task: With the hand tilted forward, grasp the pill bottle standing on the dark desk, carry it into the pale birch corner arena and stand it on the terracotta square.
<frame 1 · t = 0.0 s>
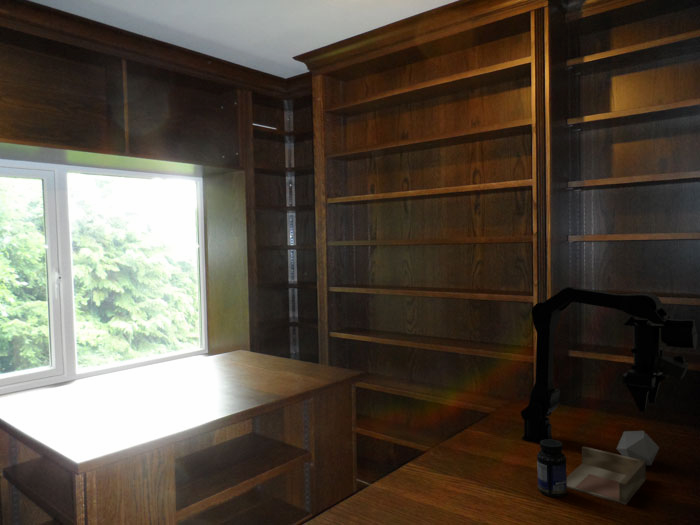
hand: (647, 407, 127), 15 cm above the table, tool pointing down, fingers open, 9 cm apart
arena: (602, 482, 119), on the table
pill bottle: (552, 492, 115), on the table
grey polyhedron: (637, 464, 129), on the table
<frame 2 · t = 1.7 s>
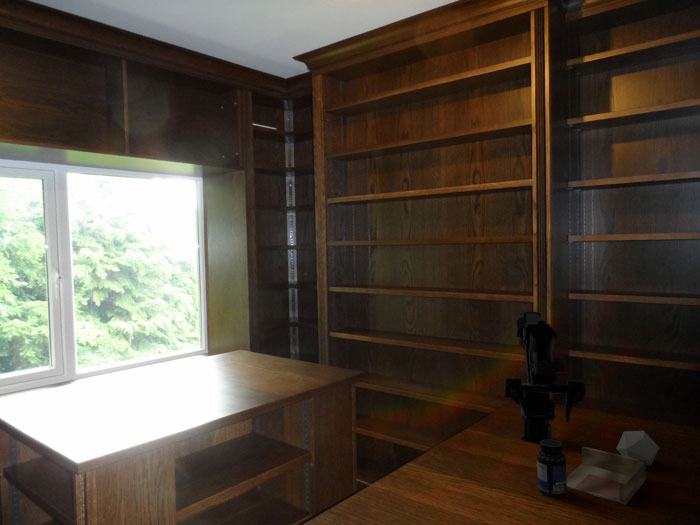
hand: (547, 420, 122), 13 cm above the table, tool tilted 45°, fingers open, 9 cm apart
nothing on the table moved.
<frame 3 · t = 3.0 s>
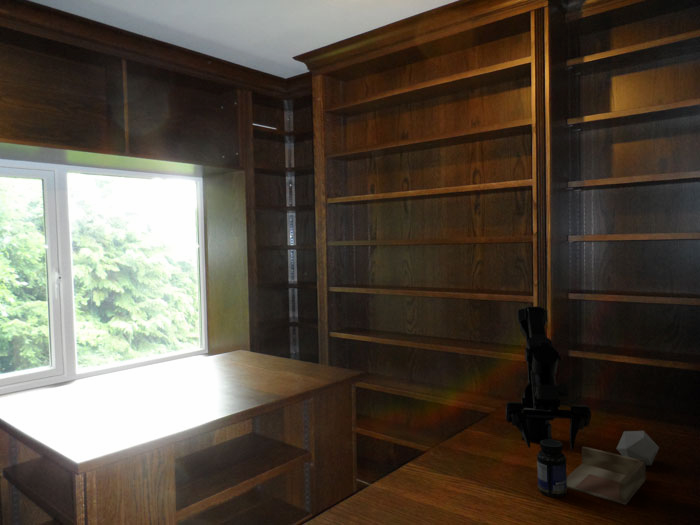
hand: (550, 448, 116), 9 cm above the table, tool tilted 45°, fingers open, 9 cm apart
nothing on the table moved.
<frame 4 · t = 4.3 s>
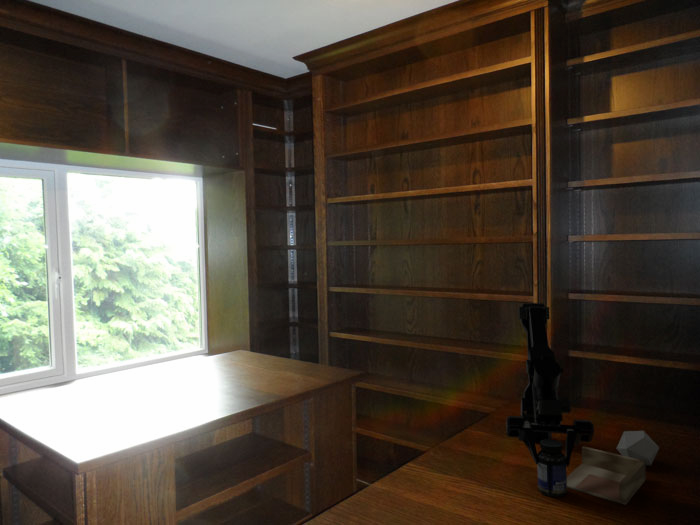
hand: (552, 464, 113), 7 cm above the table, tool tilted 45°, fingers closed on pill bottle, 6 cm apart
pill bottle: (552, 492, 115), on the table, touching gripper
everything else where it was.
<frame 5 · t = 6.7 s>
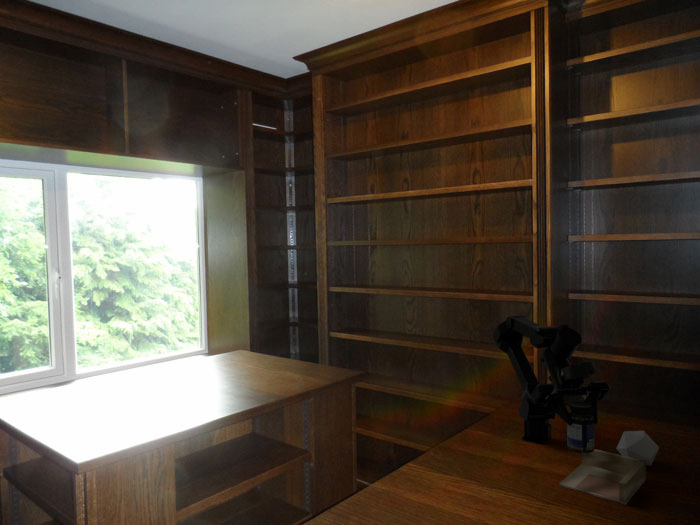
hand: (583, 424, 123), 12 cm above the table, tool tilted 45°, fingers closed on pill bottle, 6 cm apart
pill bottle: (580, 450, 125), point 5 cm above the table, touching gripper
everything else where it was.
when the fingers open (8 cm above the table, at t = 8.9 s): pill bottle stays where it is, resting on arena.
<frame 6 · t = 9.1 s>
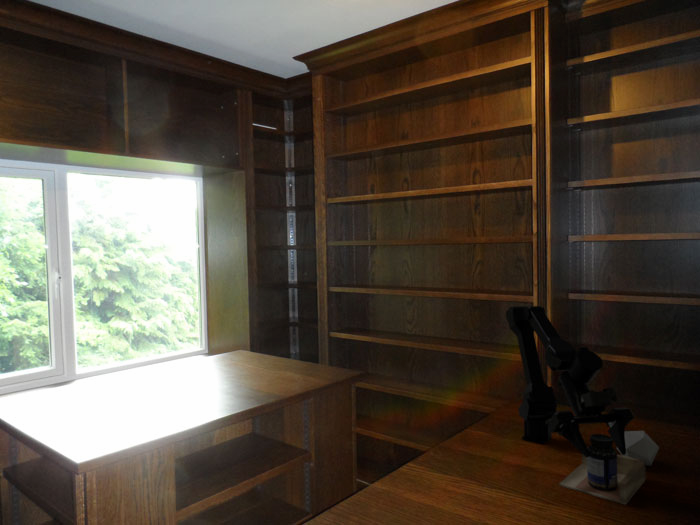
hand: (606, 455, 114), 8 cm above the table, tool tilted 45°, fingers open, 8 cm apart
pill bottle: (602, 486, 116), resting on arena
everything else where it was.
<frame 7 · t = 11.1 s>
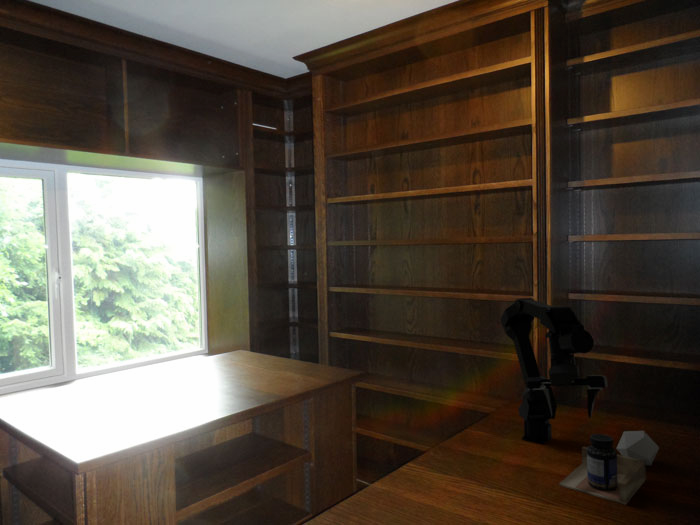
hand: (570, 417, 129), 12 cm above the table, tool pointing down, fingers open, 9 cm apart
nothing on the table moved.
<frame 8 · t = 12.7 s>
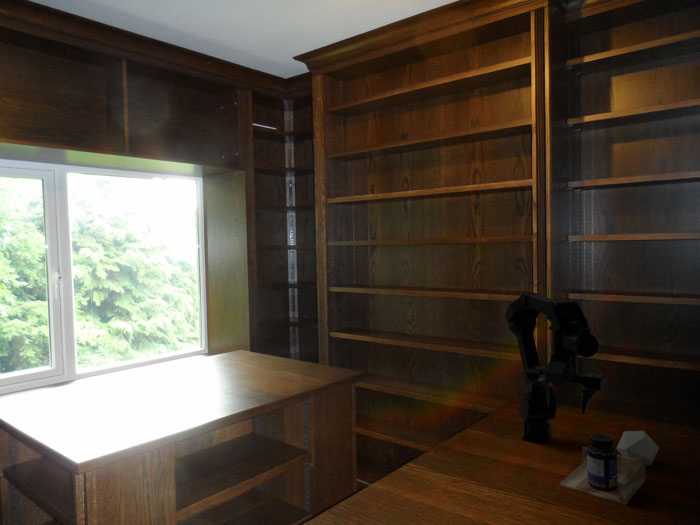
hand: (565, 410, 131), 13 cm above the table, tool pointing down, fingers open, 9 cm apart
nothing on the table moved.
at the end: pill bottle inside the target area (0.1 cm from its centre), resting on arena; pill bottle tilted 0°; the gripper is holding nothing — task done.
